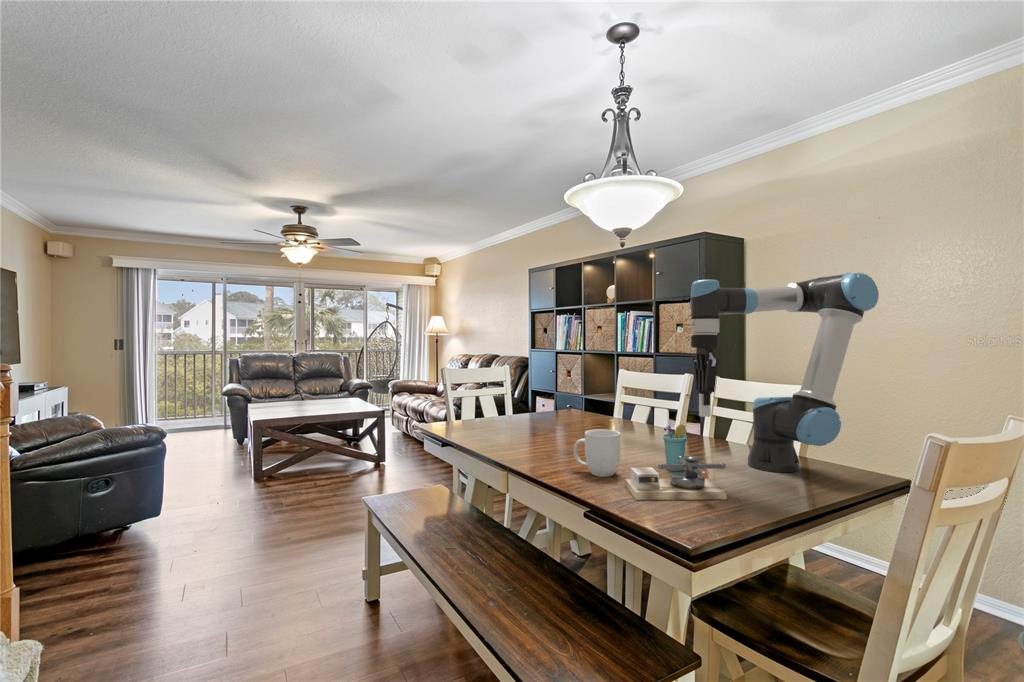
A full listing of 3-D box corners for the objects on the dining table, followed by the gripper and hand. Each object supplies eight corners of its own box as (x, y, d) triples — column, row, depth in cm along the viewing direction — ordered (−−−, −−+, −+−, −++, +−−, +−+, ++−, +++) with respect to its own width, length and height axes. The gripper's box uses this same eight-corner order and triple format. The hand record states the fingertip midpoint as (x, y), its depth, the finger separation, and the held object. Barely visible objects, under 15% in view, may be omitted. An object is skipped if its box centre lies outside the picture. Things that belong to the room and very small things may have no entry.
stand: (707, 485, 140) (707, 464, 140) (726, 499, 128) (726, 476, 128) (625, 486, 140) (624, 465, 140) (636, 499, 128) (636, 477, 128)
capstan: (711, 474, 144) (711, 449, 144) (742, 494, 125) (742, 466, 125) (647, 474, 143) (647, 449, 143) (669, 495, 124) (669, 466, 124)
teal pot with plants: (677, 476, 149) (677, 427, 149) (653, 472, 154) (653, 425, 154) (693, 467, 160) (693, 421, 160) (670, 463, 165) (670, 419, 165)
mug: (568, 474, 152) (568, 433, 152) (579, 466, 162) (579, 427, 161) (615, 481, 145) (615, 437, 145) (624, 471, 155) (624, 430, 155)
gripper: (683, 334, 146) (683, 412, 146) (701, 333, 133) (700, 420, 133) (708, 334, 146) (708, 412, 146) (728, 333, 133) (728, 420, 133)
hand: (704, 416), depth 140 cm, fingers closed
